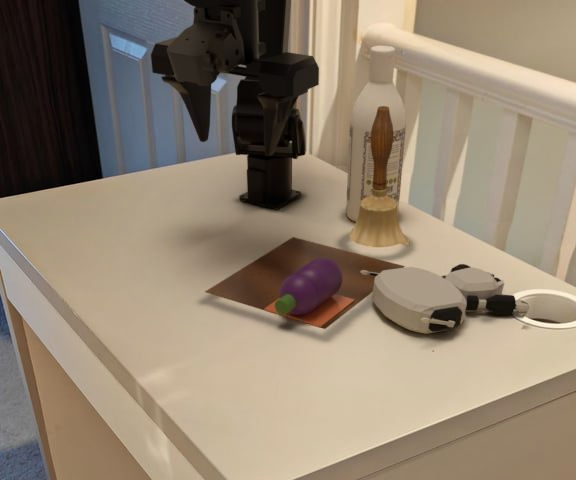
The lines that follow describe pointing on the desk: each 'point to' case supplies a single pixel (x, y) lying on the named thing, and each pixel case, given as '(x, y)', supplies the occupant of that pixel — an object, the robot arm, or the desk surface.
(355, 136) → the bath foam
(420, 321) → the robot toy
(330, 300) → the corner square
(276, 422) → the desk surface
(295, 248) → the board
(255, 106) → the robot arm
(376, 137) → the hand bell
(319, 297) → the eggplant
